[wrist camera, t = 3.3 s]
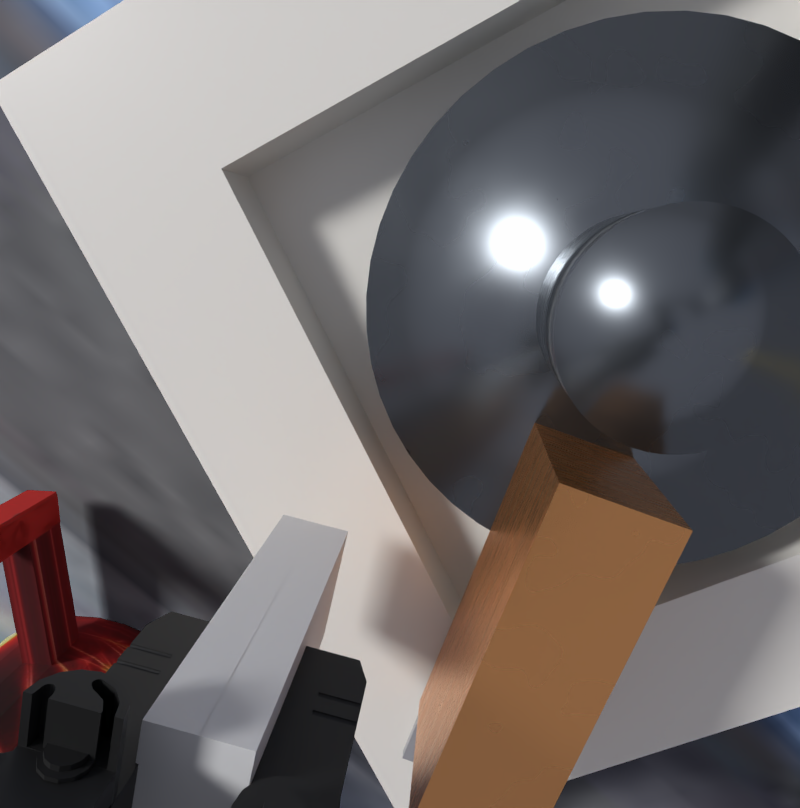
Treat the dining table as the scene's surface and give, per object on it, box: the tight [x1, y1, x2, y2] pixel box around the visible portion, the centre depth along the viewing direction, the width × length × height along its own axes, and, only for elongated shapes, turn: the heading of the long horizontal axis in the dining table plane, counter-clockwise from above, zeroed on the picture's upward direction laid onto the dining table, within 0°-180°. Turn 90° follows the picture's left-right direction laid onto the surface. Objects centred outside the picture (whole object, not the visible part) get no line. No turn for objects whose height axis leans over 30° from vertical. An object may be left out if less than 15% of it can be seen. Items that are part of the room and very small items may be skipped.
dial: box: [366, 11, 800, 808], centre depth 14 cm, size 17×12×6 cm
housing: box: [0, 0, 800, 808], centre depth 14 cm, size 22×22×9 cm
